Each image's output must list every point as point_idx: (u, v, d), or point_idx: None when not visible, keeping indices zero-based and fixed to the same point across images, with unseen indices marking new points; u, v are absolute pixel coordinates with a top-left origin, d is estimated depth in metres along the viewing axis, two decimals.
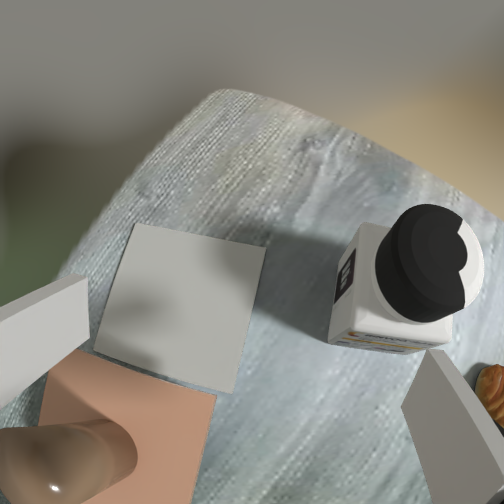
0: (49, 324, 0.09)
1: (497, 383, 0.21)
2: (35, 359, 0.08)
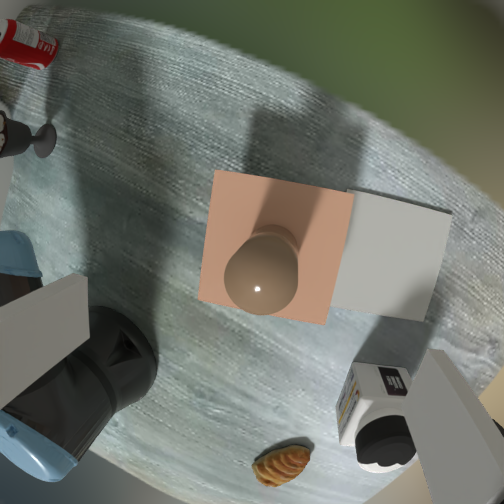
0: (49, 324, 0.09)
1: (297, 461, 0.38)
2: (35, 359, 0.08)
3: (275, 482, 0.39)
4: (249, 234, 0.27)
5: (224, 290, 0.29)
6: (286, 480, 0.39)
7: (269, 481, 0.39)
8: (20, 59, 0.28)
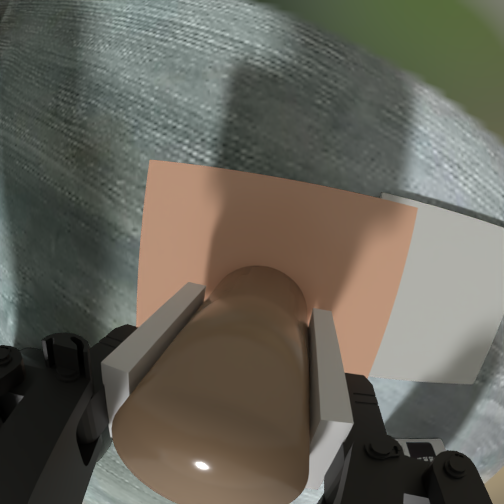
0: None
1: None
2: None
3: None
4: (214, 283, 0.14)
5: None
6: None
7: None
8: None
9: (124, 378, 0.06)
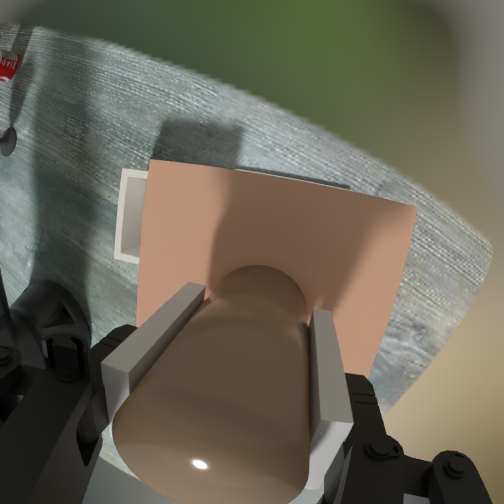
0: None
1: None
2: None
3: None
4: (214, 282, 0.14)
5: None
6: None
7: None
8: None
9: (124, 378, 0.06)
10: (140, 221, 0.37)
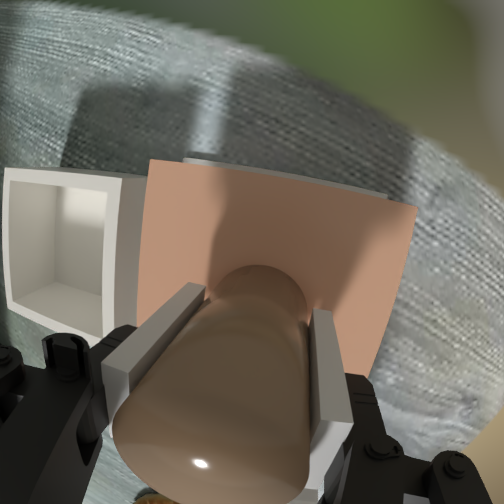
0: None
1: None
2: None
3: None
4: (214, 282, 0.14)
5: None
6: None
7: None
8: None
9: (124, 378, 0.06)
10: (48, 248, 0.21)
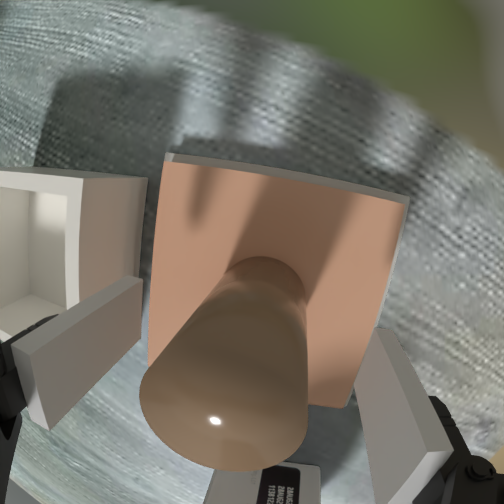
0: (111, 326, 0.10)
1: None
2: (97, 361, 0.09)
3: None
4: (222, 272, 0.16)
5: None
6: None
7: None
8: None
9: (27, 360, 0.06)
10: (20, 257, 0.18)
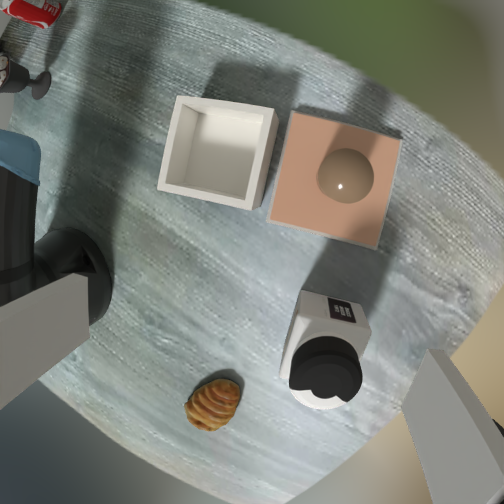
0: (49, 324, 0.09)
1: (222, 395, 0.39)
2: (35, 359, 0.08)
3: (206, 424, 0.40)
4: (318, 165, 0.32)
5: (294, 211, 0.34)
6: (217, 422, 0.40)
7: (200, 422, 0.40)
8: (28, 17, 0.29)
9: None
10: (186, 157, 0.34)
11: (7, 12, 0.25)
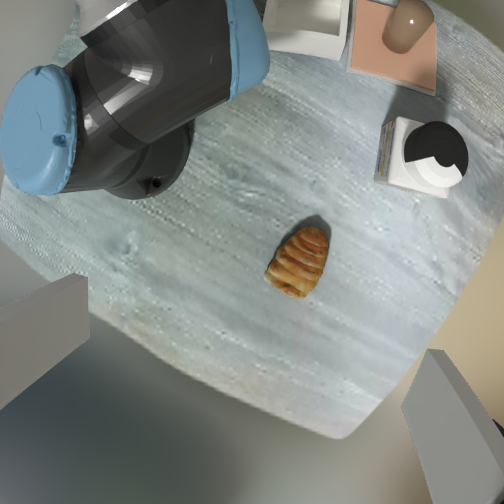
0: (49, 324, 0.09)
1: (313, 241, 0.39)
2: (35, 359, 0.08)
3: (295, 285, 0.40)
4: (382, 30, 0.32)
5: (369, 60, 0.34)
6: (308, 279, 0.39)
7: (288, 285, 0.40)
8: None
9: None
10: (275, 22, 0.34)
11: None
